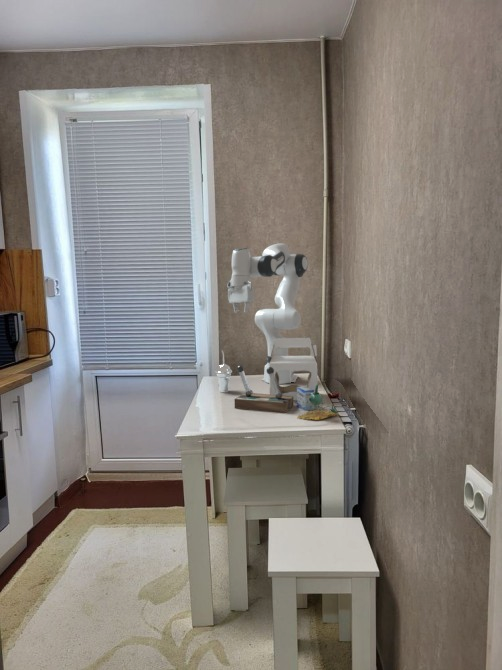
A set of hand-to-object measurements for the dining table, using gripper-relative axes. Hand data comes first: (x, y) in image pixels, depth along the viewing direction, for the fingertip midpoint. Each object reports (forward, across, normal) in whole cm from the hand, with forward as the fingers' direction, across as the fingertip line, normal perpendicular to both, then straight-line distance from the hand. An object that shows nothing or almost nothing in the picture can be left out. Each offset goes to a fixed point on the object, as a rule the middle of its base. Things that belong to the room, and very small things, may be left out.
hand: (241, 312), depth 224 cm
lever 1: (+38, -13, +2) cm, 40 cm away
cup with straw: (+39, +17, +1) cm, 42 cm away
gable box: (+40, -11, -22) cm, 47 cm away
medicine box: (+42, -29, -16) cm, 53 cm away
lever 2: (+38, -24, -6) cm, 45 cm away
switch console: (+42, -18, -2) cm, 46 cm away
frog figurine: (+44, -43, -13) cm, 63 cm away
